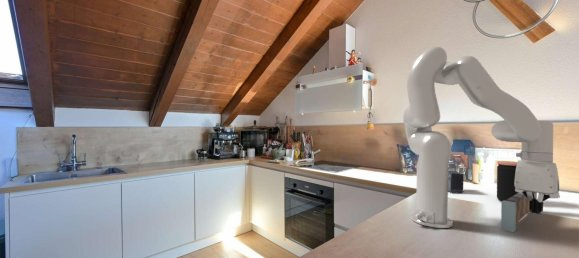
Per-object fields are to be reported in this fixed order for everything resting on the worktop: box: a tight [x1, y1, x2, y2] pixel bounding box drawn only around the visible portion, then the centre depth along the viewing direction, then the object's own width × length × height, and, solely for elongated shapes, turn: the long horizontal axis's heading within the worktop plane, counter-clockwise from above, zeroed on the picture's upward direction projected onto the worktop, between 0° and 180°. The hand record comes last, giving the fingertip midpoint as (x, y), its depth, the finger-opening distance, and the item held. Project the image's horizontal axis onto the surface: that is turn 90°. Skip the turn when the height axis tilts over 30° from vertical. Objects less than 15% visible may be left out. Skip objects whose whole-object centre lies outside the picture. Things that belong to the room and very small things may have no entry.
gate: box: [507, 193, 531, 224], centre depth 90 cm, size 27×2×8 cm, turn 127°
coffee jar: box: [496, 160, 519, 202], centre depth 115 cm, size 11×11×18 cm
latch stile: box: [500, 200, 517, 233], centre depth 81 cm, size 3×3×9 cm
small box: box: [448, 170, 465, 195], centre depth 134 cm, size 11×6×10 cm, turn 168°
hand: (536, 212), depth 83 cm, fingers closed
